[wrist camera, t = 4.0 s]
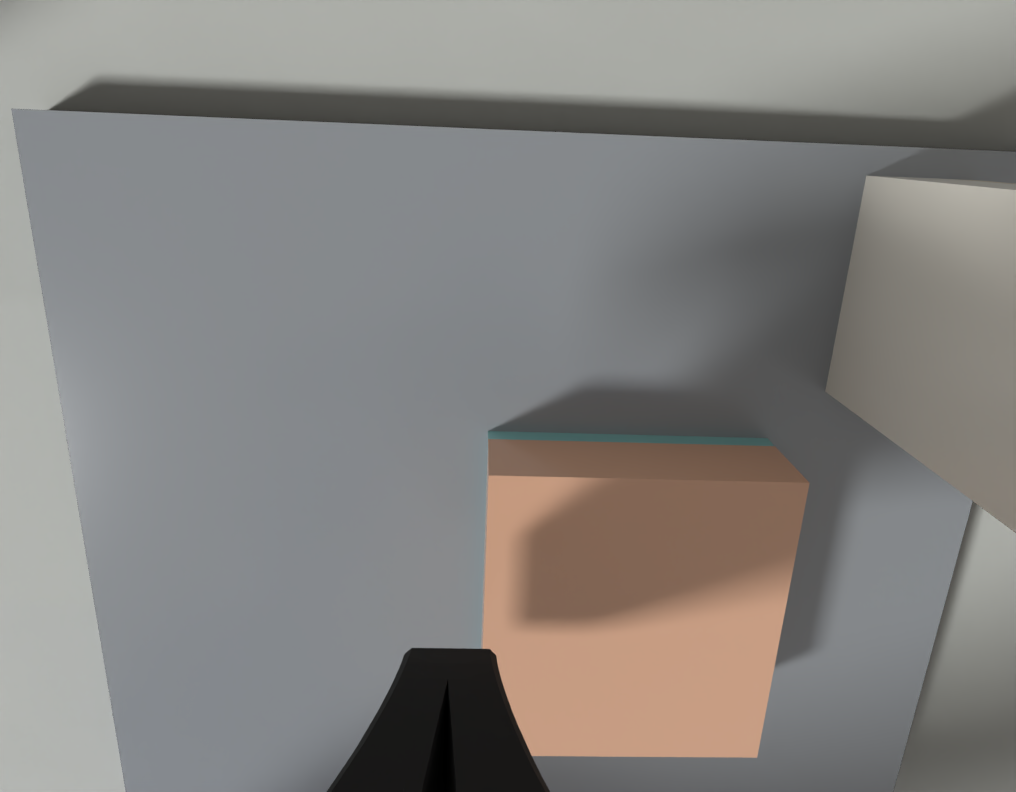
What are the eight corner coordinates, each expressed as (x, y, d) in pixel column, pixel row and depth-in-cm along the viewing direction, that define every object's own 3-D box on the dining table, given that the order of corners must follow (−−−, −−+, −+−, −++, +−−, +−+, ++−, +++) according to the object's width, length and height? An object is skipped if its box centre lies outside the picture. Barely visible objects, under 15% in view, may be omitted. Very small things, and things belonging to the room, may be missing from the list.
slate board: (868, 773, 19) (889, 807, 18) (146, 769, 18) (128, 804, 17) (1027, 152, 14) (1068, 153, 13) (44, 110, 13) (11, 109, 12)
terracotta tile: (479, 684, 16) (726, 687, 17) (478, 755, 14) (757, 757, 15) (487, 431, 14) (767, 438, 15) (488, 475, 12) (809, 482, 13)
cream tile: (926, 394, 14) (1176, 539, 9) (825, 391, 14) (1020, 536, 9) (977, 180, 13) (1302, 207, 8) (866, 175, 13) (1121, 201, 8)
